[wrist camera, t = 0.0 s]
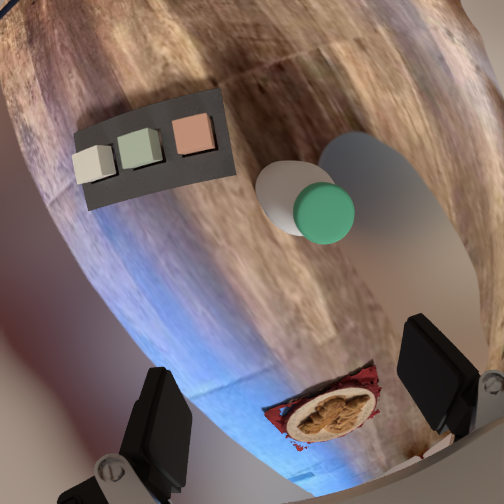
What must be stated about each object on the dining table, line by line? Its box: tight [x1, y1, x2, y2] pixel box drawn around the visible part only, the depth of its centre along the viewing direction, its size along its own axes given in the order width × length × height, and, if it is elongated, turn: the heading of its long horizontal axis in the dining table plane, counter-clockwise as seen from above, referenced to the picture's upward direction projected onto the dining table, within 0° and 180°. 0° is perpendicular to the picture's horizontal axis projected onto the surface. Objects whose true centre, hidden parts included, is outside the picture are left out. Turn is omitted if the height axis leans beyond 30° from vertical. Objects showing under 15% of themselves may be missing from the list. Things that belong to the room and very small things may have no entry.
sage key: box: [117, 128, 163, 169], centre depth 31 cm, size 4×4×4 cm
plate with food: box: [264, 365, 382, 451], centre depth 54 cm, size 24×26×4 cm
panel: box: [74, 88, 236, 211], centre depth 34 cm, size 12×22×3 cm, turn 100°
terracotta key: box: [172, 113, 215, 154], centre depth 31 cm, size 4×4×4 cm
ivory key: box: [72, 145, 116, 185], centre depth 31 cm, size 4×4×4 cm
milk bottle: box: [255, 161, 354, 244], centre depth 29 cm, size 8×8×20 cm
